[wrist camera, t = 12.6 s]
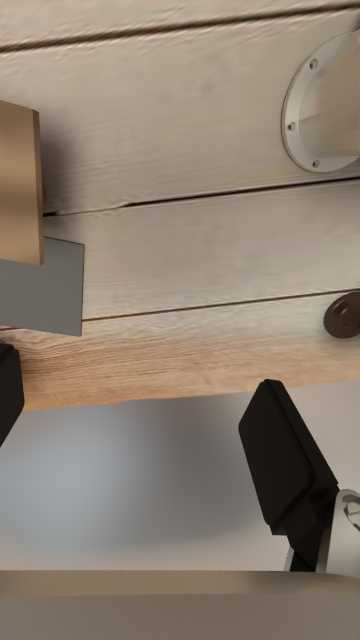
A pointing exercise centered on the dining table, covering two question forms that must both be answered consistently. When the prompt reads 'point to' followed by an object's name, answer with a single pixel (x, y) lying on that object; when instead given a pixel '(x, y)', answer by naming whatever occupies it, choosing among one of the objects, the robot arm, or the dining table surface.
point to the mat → (45, 290)
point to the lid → (20, 185)
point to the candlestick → (344, 316)
